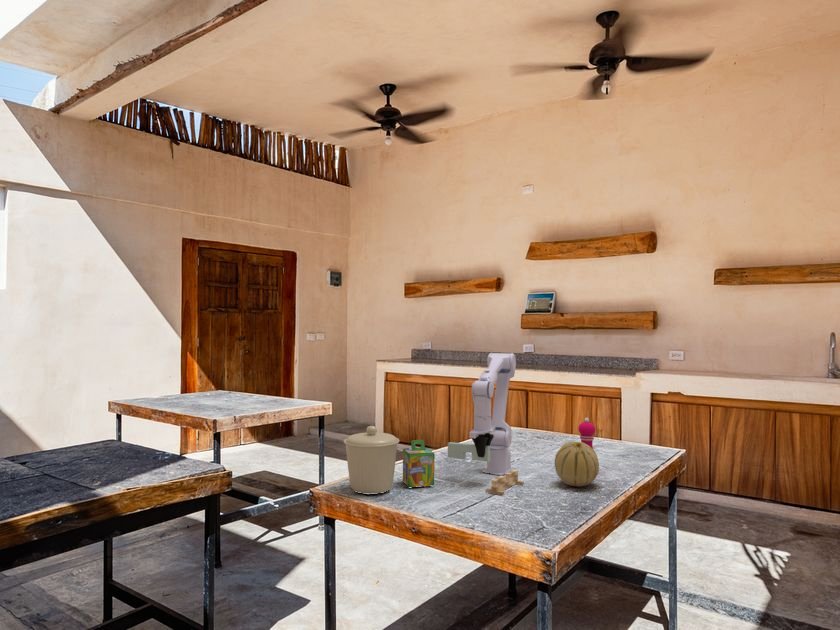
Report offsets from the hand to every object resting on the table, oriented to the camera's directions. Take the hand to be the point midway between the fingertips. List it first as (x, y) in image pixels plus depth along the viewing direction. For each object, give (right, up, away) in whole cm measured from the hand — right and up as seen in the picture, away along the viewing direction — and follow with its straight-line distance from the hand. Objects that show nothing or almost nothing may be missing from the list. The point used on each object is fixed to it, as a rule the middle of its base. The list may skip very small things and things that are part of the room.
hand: (482, 456), depth 194 cm
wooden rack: (+7, -9, -5) cm, 13 cm away
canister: (-37, -9, -8) cm, 39 cm away
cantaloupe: (+31, -10, -2) cm, 33 cm away
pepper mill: (+40, -10, +16) cm, 44 cm away
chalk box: (-22, -10, -1) cm, 24 cm away
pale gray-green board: (-4, -2, +3) cm, 6 cm away
